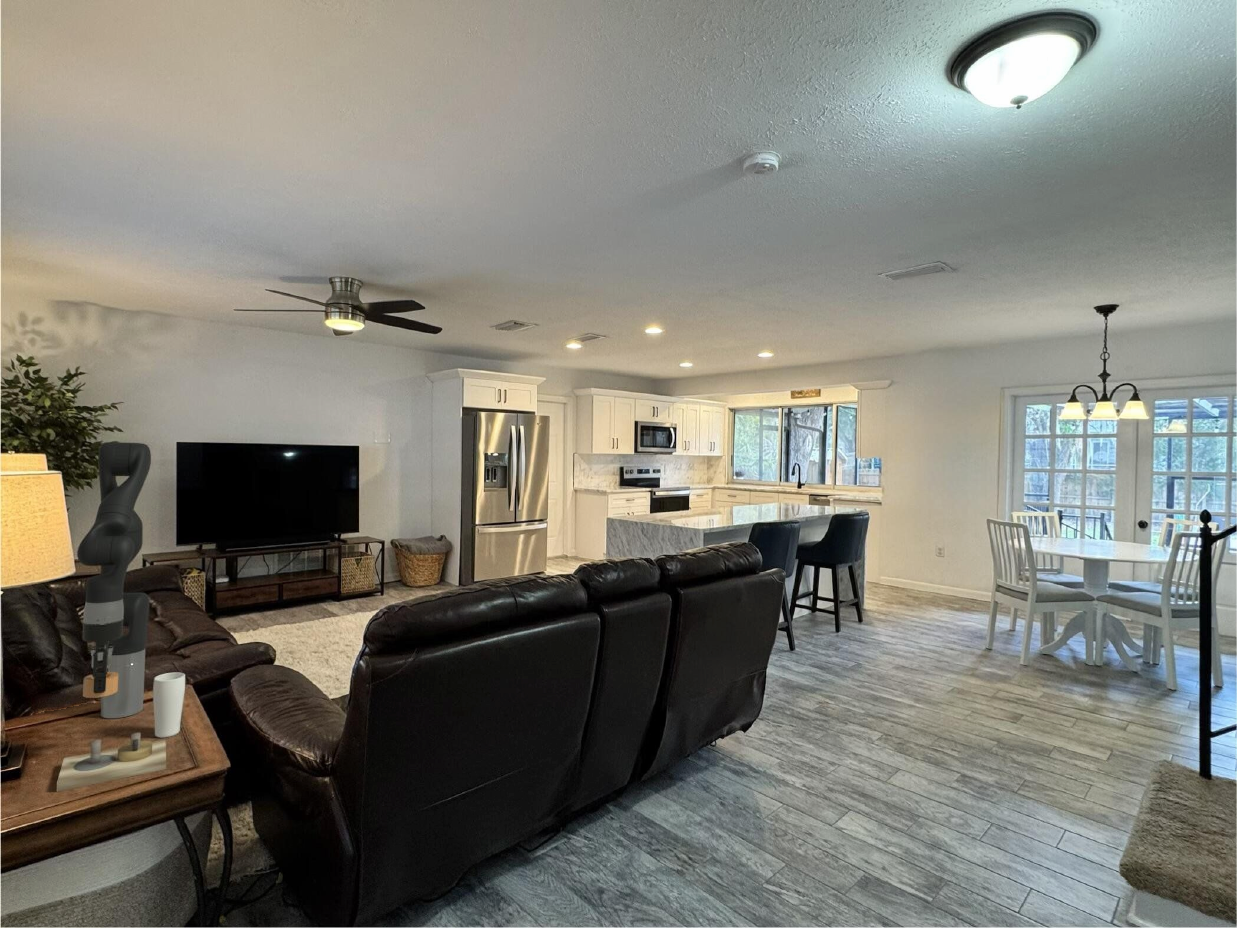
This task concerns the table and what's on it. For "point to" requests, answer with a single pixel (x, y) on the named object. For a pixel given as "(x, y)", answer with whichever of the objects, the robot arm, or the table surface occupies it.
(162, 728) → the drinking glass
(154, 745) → the gear board
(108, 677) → the gear
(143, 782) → the table surface
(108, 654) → the robot arm
